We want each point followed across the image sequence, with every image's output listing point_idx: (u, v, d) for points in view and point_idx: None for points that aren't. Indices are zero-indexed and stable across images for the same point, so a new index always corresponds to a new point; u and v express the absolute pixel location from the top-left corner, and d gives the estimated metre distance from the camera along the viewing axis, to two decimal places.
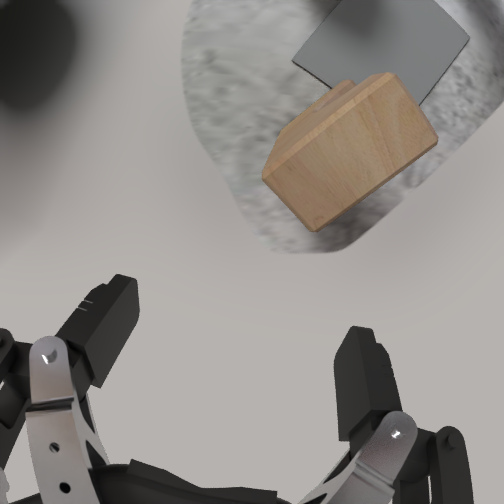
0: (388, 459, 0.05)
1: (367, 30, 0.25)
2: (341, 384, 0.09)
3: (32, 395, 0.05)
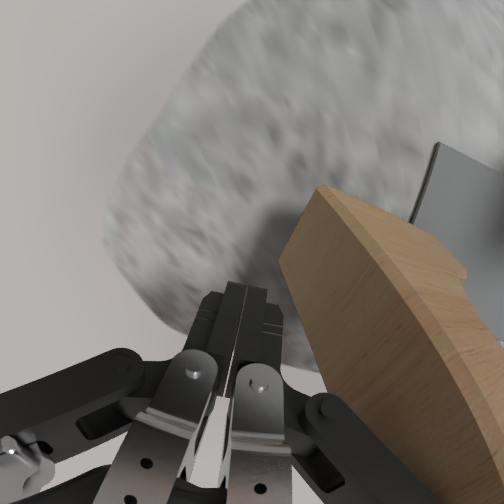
0: (265, 417, 0.06)
1: (501, 239, 0.17)
2: None
3: (153, 400, 0.06)
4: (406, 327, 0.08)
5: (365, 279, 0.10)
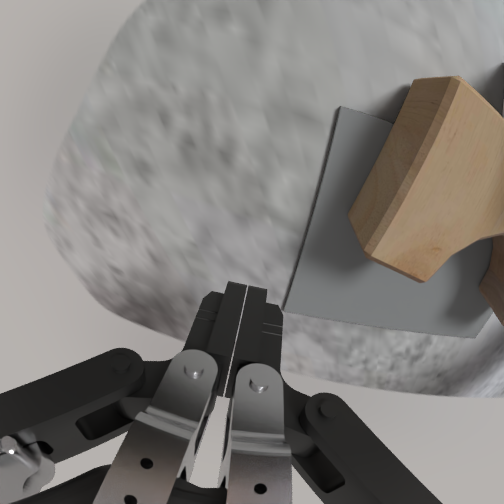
0: (265, 417, 0.06)
1: None
2: None
3: (153, 399, 0.06)
4: None
5: None
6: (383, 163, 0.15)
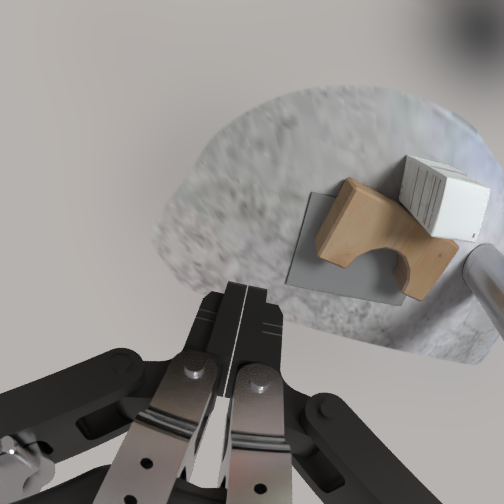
0: (265, 417, 0.06)
1: None
2: None
3: (153, 400, 0.06)
4: (400, 205, 0.38)
5: (387, 198, 0.37)
6: (328, 218, 0.39)
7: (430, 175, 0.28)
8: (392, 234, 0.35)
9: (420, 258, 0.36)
